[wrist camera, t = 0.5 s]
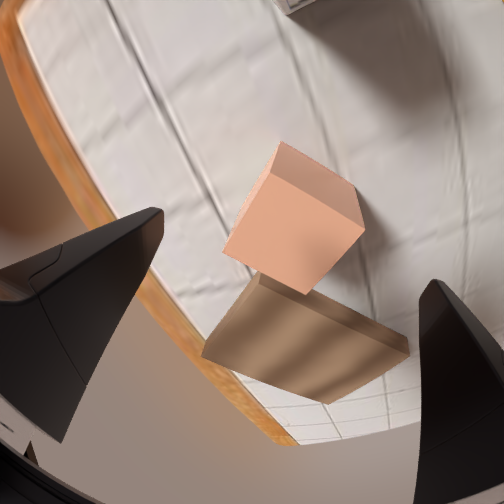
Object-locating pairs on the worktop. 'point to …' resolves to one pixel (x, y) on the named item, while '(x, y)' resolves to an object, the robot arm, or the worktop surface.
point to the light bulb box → (291, 5)
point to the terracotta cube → (295, 220)
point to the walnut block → (302, 342)
